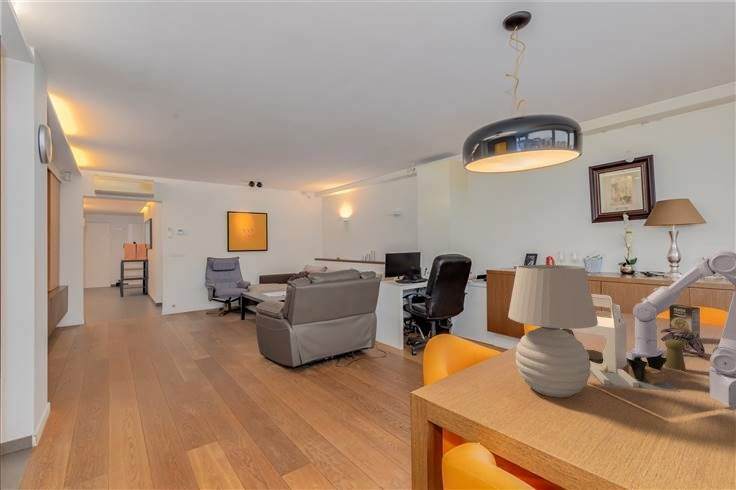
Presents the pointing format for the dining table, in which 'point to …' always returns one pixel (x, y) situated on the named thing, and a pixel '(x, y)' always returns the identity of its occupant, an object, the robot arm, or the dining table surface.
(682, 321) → the food box
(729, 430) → the dining table surface
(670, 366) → the cork
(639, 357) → the robot arm
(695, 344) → the decorative flower
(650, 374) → the wooden box
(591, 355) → the gable box
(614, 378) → the board
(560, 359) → the table lamp
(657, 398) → the dining table surface
